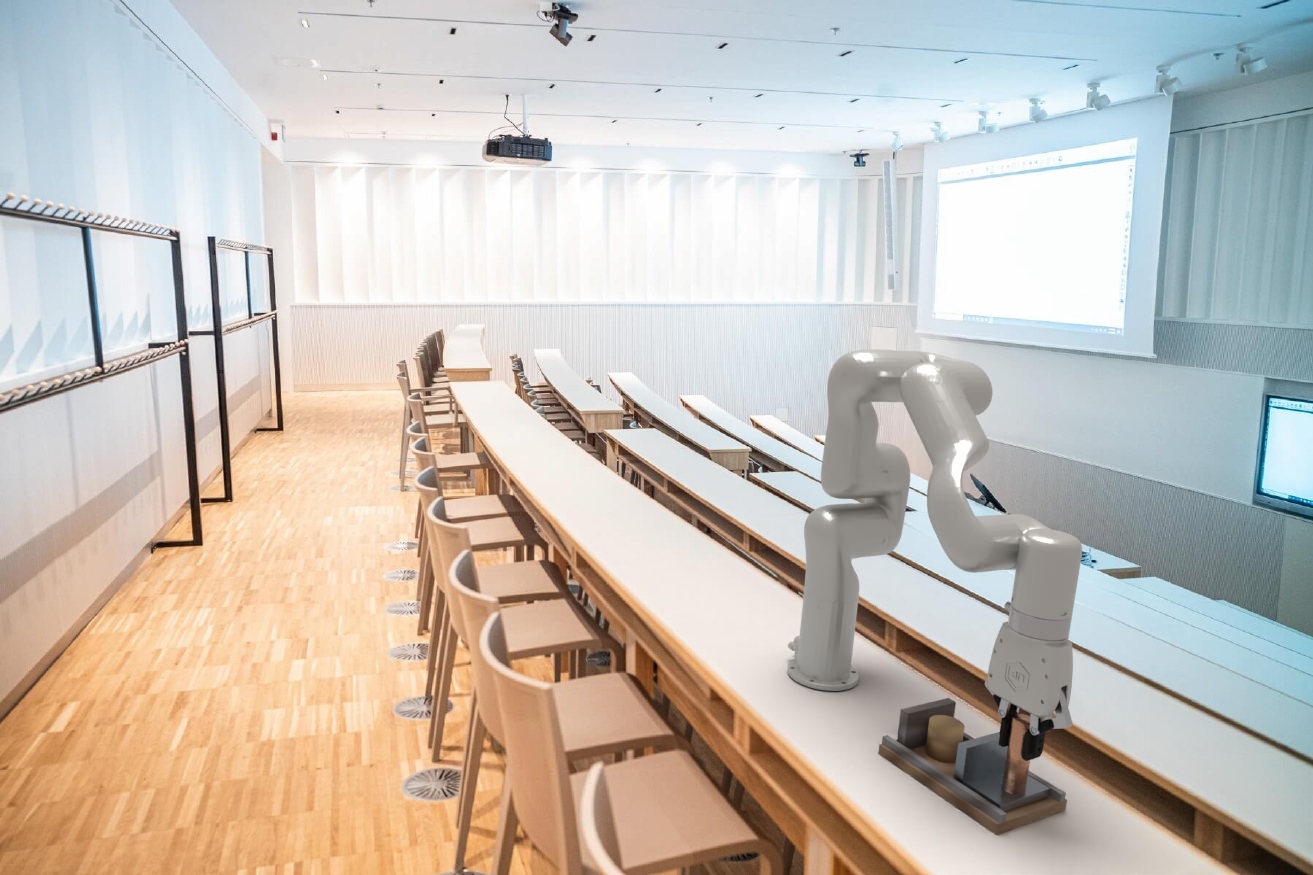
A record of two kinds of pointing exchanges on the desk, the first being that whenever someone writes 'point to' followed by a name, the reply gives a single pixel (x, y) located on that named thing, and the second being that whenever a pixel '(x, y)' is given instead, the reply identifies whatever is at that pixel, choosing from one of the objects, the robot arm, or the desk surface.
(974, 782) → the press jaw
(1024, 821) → the press base
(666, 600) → the desk surface
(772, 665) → the desk surface
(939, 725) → the tan round peg
